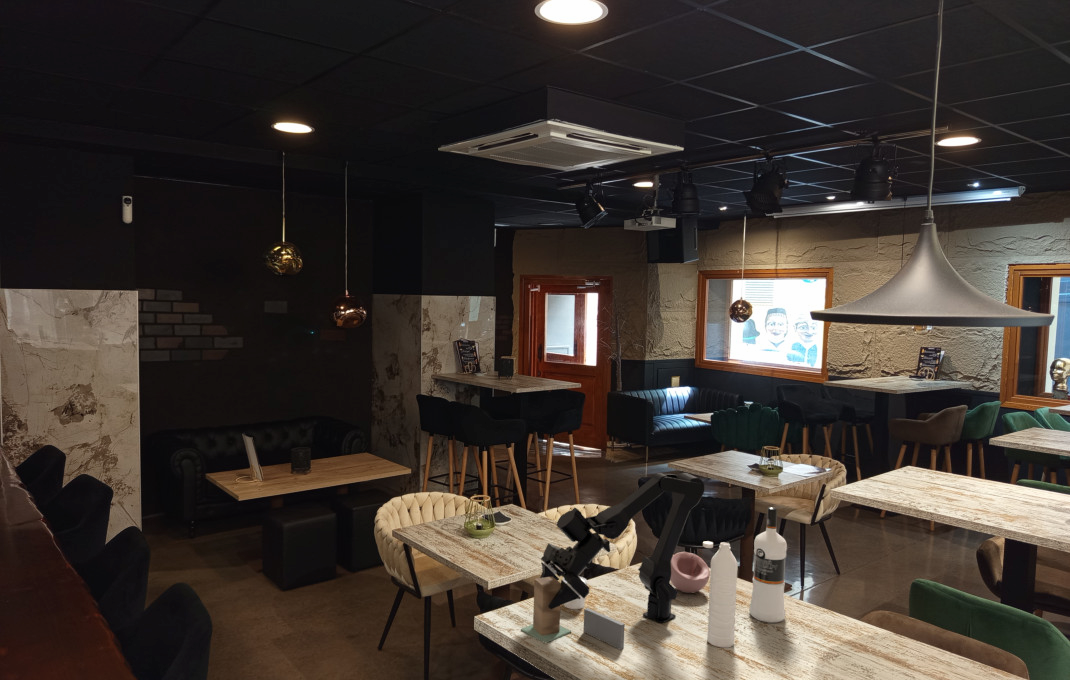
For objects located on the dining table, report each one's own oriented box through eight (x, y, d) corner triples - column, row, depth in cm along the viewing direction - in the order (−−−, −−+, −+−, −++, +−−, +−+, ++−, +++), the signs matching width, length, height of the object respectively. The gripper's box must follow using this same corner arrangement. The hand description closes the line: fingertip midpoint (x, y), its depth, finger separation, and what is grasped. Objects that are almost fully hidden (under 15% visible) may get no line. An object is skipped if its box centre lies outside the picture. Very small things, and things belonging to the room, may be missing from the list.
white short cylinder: (584, 611, 192) (585, 585, 192) (559, 608, 194) (560, 583, 193) (587, 601, 199) (588, 576, 199) (563, 598, 200) (564, 574, 200)
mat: (545, 620, 186) (546, 618, 186) (571, 632, 179) (571, 630, 179) (520, 630, 180) (520, 628, 180) (546, 643, 173) (546, 641, 173)
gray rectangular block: (586, 630, 180) (587, 607, 180) (623, 648, 172) (624, 623, 172) (583, 632, 180) (584, 609, 179) (620, 649, 171) (621, 625, 171)
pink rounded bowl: (682, 602, 201) (683, 562, 200) (659, 586, 212) (660, 548, 211) (717, 596, 205) (718, 557, 205) (692, 581, 216) (694, 544, 216)
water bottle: (729, 636, 180) (734, 539, 179) (737, 648, 174) (742, 547, 173) (695, 635, 180) (699, 538, 179) (702, 647, 173) (706, 546, 172)
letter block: (551, 623, 183) (552, 576, 182) (560, 632, 178) (561, 583, 178) (532, 627, 181) (534, 578, 180) (541, 635, 176) (543, 586, 176)
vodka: (792, 621, 190) (798, 510, 189) (765, 626, 187) (770, 513, 185) (768, 607, 199) (773, 501, 198) (741, 611, 195) (747, 504, 194)
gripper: (549, 522, 189) (508, 567, 185) (579, 544, 171) (535, 595, 168) (574, 548, 192) (535, 594, 188) (607, 573, 175) (565, 623, 171)
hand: (542, 600), depth 179 cm, fingers open, 9 cm apart
